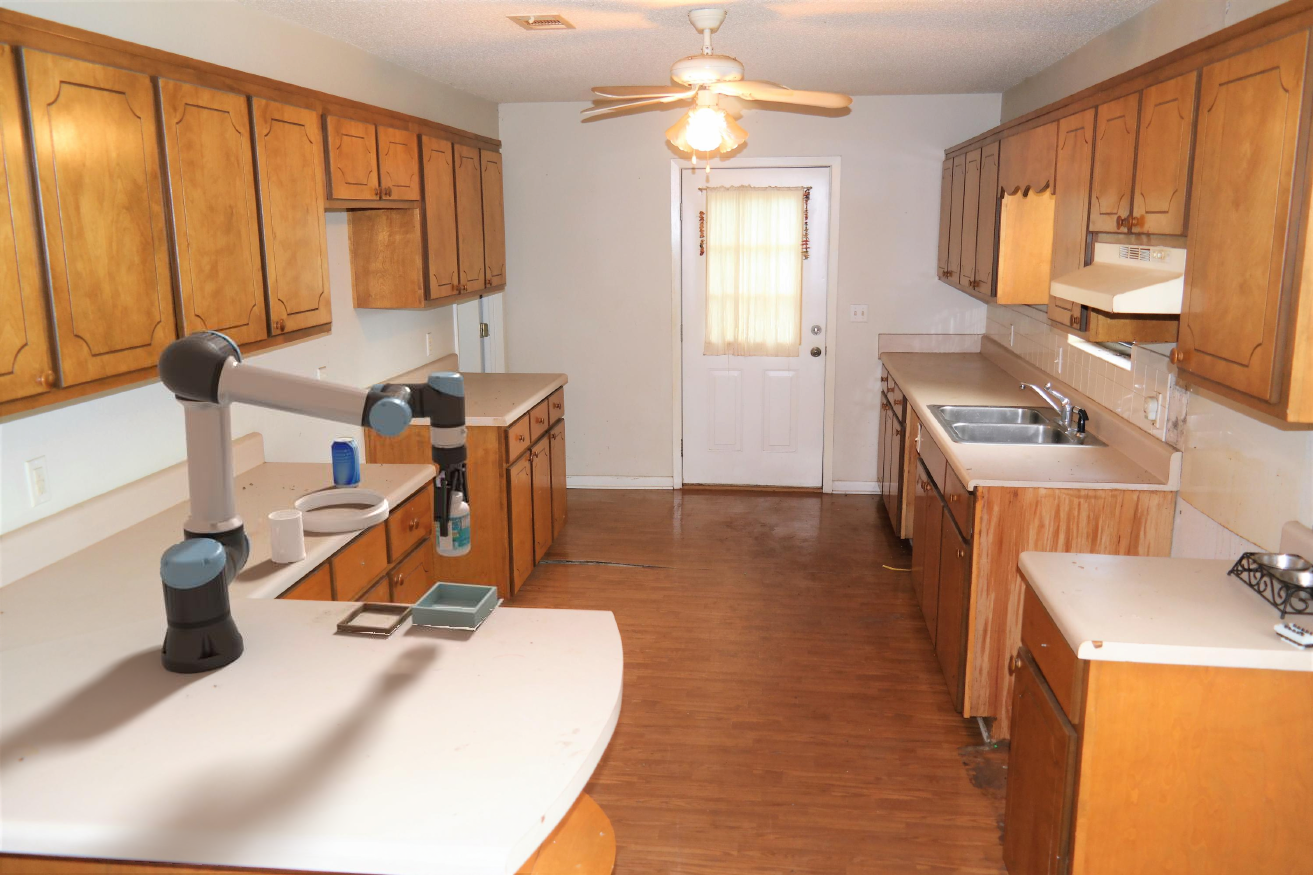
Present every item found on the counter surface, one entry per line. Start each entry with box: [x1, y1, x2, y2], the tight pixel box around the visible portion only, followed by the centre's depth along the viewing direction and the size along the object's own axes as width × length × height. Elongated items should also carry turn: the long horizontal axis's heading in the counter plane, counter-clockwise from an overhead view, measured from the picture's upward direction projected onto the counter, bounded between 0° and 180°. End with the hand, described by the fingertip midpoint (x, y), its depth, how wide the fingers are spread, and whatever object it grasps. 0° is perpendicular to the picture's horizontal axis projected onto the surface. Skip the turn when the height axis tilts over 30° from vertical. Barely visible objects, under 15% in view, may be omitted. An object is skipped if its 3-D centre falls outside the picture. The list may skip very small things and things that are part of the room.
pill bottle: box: [435, 491, 471, 557], centre depth 205 cm, size 8×7×14 cm
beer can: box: [330, 436, 361, 489], centre depth 305 cm, size 8×8×16 cm
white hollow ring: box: [292, 487, 390, 533], centre depth 275 cm, size 27×27×6 cm
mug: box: [268, 509, 307, 564], centre depth 240 cm, size 12×8×12 cm
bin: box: [411, 581, 498, 628], centre depth 210 cm, size 15×15×4 cm
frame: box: [336, 601, 413, 634], centre depth 206 cm, size 12×12×2 cm
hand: (453, 542), depth 206 cm, fingers closed on pill bottle, 7 cm apart
